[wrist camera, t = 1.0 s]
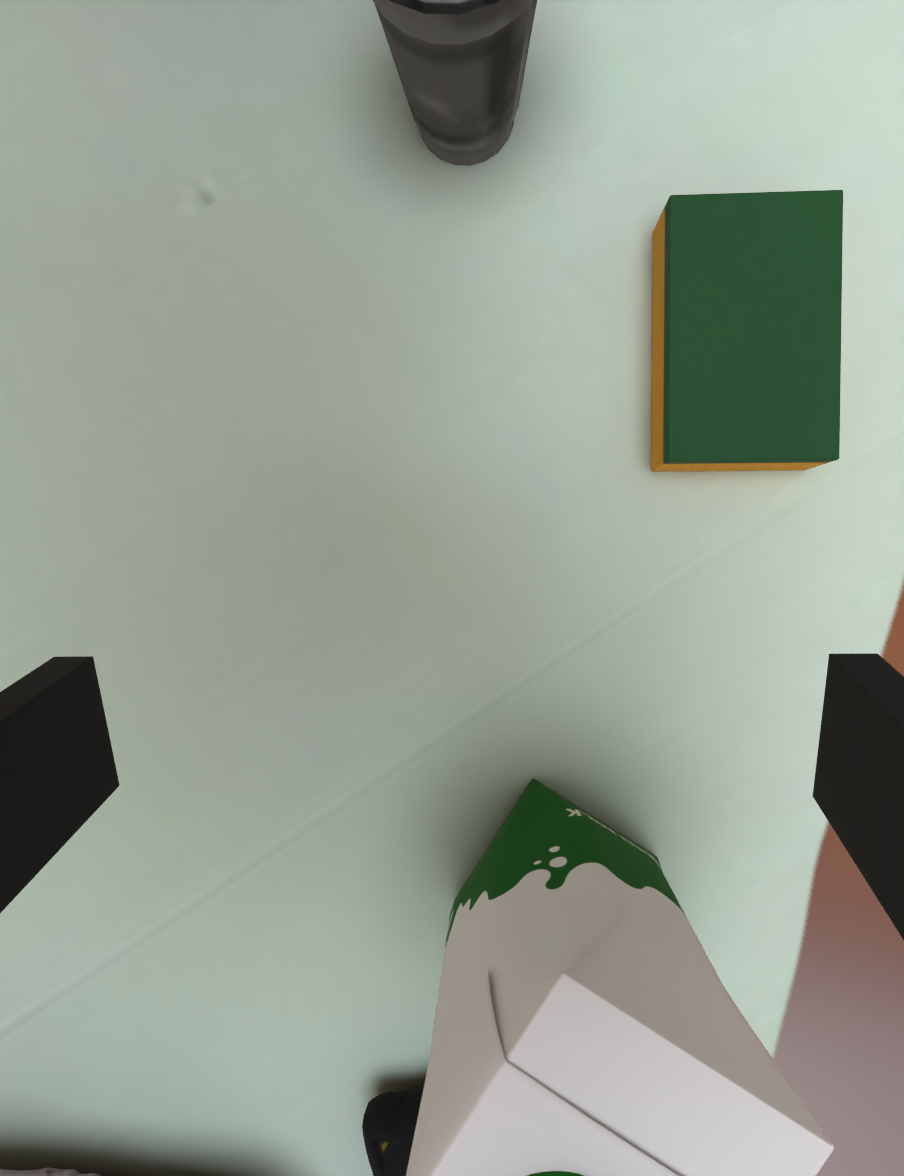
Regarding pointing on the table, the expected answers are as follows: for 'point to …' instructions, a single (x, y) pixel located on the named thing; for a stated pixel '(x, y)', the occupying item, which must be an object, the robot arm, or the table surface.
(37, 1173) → the cell model
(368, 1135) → the tape measure
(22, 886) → the robot arm
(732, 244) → the sponge
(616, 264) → the table surface
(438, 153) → the beverage cup
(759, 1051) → the milk carton
